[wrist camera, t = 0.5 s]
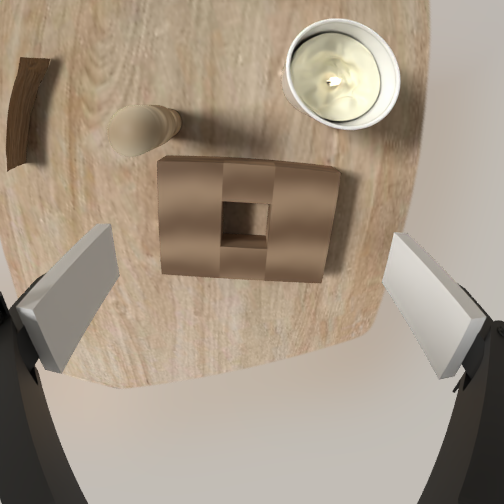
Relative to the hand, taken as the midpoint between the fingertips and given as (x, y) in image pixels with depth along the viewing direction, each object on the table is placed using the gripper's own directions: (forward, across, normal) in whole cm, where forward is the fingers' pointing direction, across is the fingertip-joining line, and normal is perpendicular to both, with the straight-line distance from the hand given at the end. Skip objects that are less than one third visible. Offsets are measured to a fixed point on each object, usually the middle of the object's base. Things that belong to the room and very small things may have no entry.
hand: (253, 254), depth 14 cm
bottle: (+24, -10, +4) cm, 27 cm away
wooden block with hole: (+24, 0, -7) cm, 25 cm away
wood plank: (+25, -30, +8) cm, 40 cm away
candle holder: (+25, +7, +10) cm, 28 cm away
